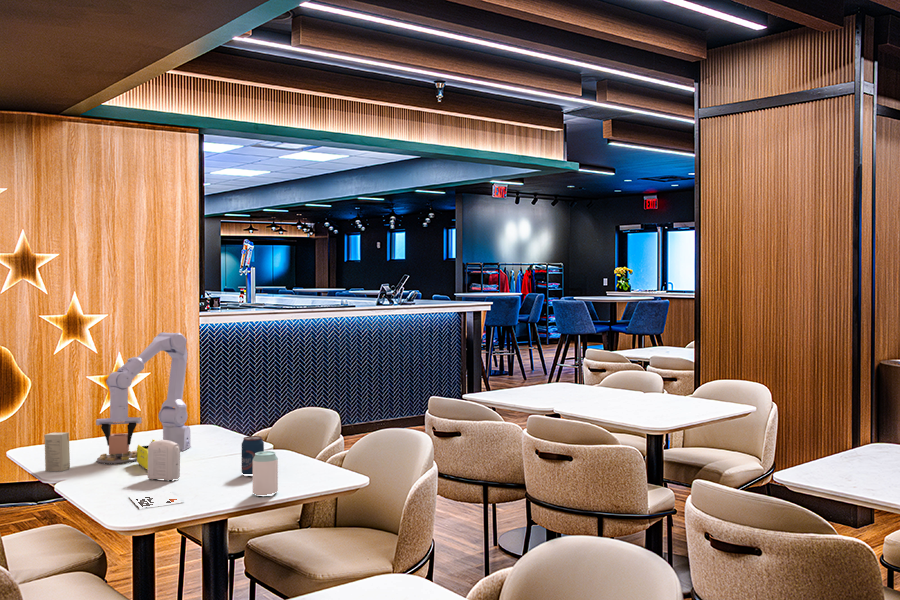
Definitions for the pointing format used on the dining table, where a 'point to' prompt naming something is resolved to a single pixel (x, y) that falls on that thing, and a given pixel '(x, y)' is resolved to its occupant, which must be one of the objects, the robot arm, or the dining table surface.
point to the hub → (117, 458)
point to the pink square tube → (118, 443)
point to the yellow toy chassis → (143, 455)
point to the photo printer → (163, 460)
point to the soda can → (250, 452)
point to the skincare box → (57, 452)
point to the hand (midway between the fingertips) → (119, 444)
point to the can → (265, 473)
